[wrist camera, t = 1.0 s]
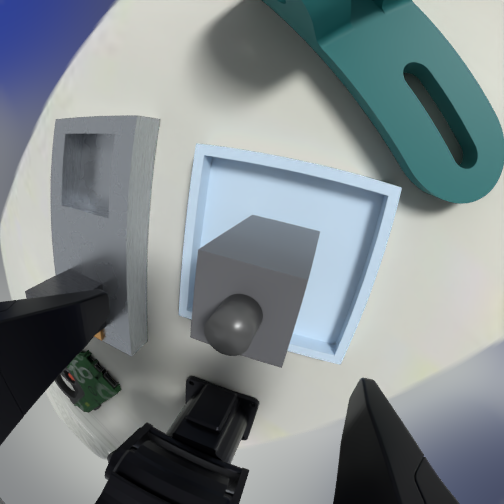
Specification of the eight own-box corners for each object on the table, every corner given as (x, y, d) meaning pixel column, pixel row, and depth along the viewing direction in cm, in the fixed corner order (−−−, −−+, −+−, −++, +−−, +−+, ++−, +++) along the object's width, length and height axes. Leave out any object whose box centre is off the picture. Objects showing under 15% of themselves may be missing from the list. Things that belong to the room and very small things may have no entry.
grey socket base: (147, 340, 23) (81, 404, 15) (79, 306, 25) (14, 348, 17) (160, 119, 17) (48, 107, 9) (77, 119, 19) (-14, 122, 10)
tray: (340, 349, 18) (340, 364, 17) (189, 304, 20) (178, 315, 19) (395, 185, 14) (401, 187, 13) (208, 144, 17) (196, 143, 15)
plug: (303, 293, 17) (272, 394, 9) (241, 276, 18) (172, 358, 10) (320, 231, 16) (302, 301, 8) (252, 214, 17) (175, 264, 9)
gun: (61, 326, 26) (120, 394, 26) (70, 321, 27) (127, 387, 28) (43, 368, 33) (85, 417, 33) (49, 363, 34) (91, 411, 34)
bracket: (253, -6, 13) (205, -75, 5) (331, -46, 10) (318, -119, 3) (426, 218, 14) (488, 262, 7) (502, 167, 12) (582, 179, 5)
